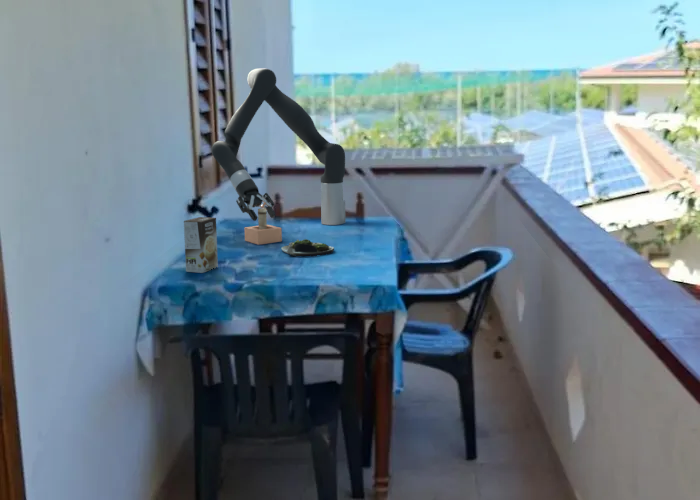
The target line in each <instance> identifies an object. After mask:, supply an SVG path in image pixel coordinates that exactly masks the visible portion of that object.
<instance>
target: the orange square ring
mask: <svg viewBox="0 0 700 500" xmlns="http://www.w3.org/2000/svg"><path fill="white" fill-rule="evenodd" d="M244 241H245V242H247V243H251V244H255V245H258V246H259V245H266V244H272V243H278V242H282V241H283V231H282V227H279V226H275V225H271V224H267V229H262V230H259V225H253V226H246V227H244Z"/></svg>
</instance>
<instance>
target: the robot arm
mask: <svg viewBox="0 0 700 500" xmlns="http://www.w3.org/2000/svg"><path fill="white" fill-rule="evenodd" d="M246 80H247V84H248V87H249V89H250V92H249V94H248V95H247V97H246V99H245V100H244V101H243V103H242V104H241V105H240V106H239V107H238V109H237V110H235V112H234V114H233V115H232V117H231V118H230V120H229V122H228V124H227V125H226V128H225V130H224V135H225V141H223V140H217V141H215V142H214V143H213V145H212V146H211V154H212V156H213V157H214V160H216V162H217V163H218V164H219V166H221V168H222V169H223V170H224V172H225V175H226V176H227V177H228V179H229V180H230V182H231V185H232V187H233V188H234V190H235V191H236V193H237V195H238V197H237V199H236V201H235V202H236V204H237V205H238V208H239V209H240V211H241V212H242V213H243V214H245V213H246V214H248V216H249V217H250V219H251V220H252V221H254V222H255V221H258V214H257V213H256V212H255V210H254V209H253V208H260V209H261V208H265V209H266V212H267V213H268V215H269V216H270V217H269V218H271V219H274V218H275V217H276V211H275V210H274V208H273V207H274V206H275V202H274V201H273V199H272V198H271V196H270V195H269V194H268V192H265V193H264V194H261V193H260V191H259V188H258V186H257V185H256V182H255V181H254V180H253V178H252V177H251V175H250V174H249V172H248V171H247V170H246V168H245V167H244V165H243V164H242V162H241V161H240V160H239V159H238V158H237V156H238V152H239V149H240V146H241V142H242V139H243V137H244V135H245V134H246V131H247V129H248V127H249V126H250V124H251V122H252V120H253V119H254V117H255V115H256V114H257V112H258V110H259V109H260V107H261V106H262V105H263V103H264V102H265V103H267V104H268V105H269V106H270V108H271V109H272V110H273V112H275V114H276V115H277V116H278V117H279V118H280V119H281V121H283V123H284V124H286V126H287V127H288V128H289V130H291V131H292V132H293V133H294V134H295V135H296V136H297V137H298V138H299V139H300V140H301V141H302V142H303V143H304V144H305V145H306V146H307V147H308V148H309V150H311V152H312V154H313V155H314V156H315V158H316V160H318V161H319V162H320V163H321V164H322V165H324V172H323V174H321V176H320V205H321V206H320V208H321V211H320V212H321V214H320V215H321V217H320V218H321V221H320V223H321V225H326V226H327V225H328V226H329V225H330V226H338V225H342V224H346V200H344V177H345V172H346V154H345V150H344V147H343V146H342V145H340V144H339V143H332V142H329V141H328V140H327V139H326V138H325V137H324V136H323V135H322V134H321V133H320V132H319V131H318V129H317V127H316V125H315V123H314V120H313V119H312V117H311V116H310V114H309V113H308V112H307V111H306V110H305V109H304V108H303V107H302V106H301V105H300V104H299V103H297V102H296V100H294V99H292V98H291V97H289V96H288V95H286V93H284V92H283V91H282V90H280V89H279V88H278V87H277V76H276V74H275V72H274V71H273V70H272V69H269V68H265V67H263V68H262V67H261V68H259V67H258V68H254V69H252V70H251V71H250V72H249V73H248V74H247V79H246Z"/></svg>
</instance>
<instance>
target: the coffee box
mask: <svg viewBox="0 0 700 500" xmlns="http://www.w3.org/2000/svg"><path fill="white" fill-rule="evenodd" d="M183 227H184V228H183V234H184V254H185V255H184V257H185V272H188V273H199V274H204V273H206V272H209V271H212V270H214V269H217V268H218V267H219V265H218V264H219V262H218V237H217V236H218V234H217V232H218V231H217V217H209V216H207V217H206V216H202V217H201V216H199V217H194V218H190V219H187V220H184V221H183ZM216 267H217V268H216ZM213 268H214V269H213ZM211 269H212V270H211Z"/></svg>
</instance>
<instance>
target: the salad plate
mask: <svg viewBox="0 0 700 500" xmlns="http://www.w3.org/2000/svg"><path fill="white" fill-rule="evenodd" d="M281 250H282V252H284V253H285V254H288V255H289V256H292V257H296V256H311V257H318V256H317V255H320V256H326V254H327V255H330V254H332V253H333V252H334V251H335V247H334V246H330V245H328V244H326V243H322V242H312V241H311V240H309V239H306V238H304V239H302V240H299V239H296V240H295V241H291V242H289V243H288V245H285V246H281Z"/></svg>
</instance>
